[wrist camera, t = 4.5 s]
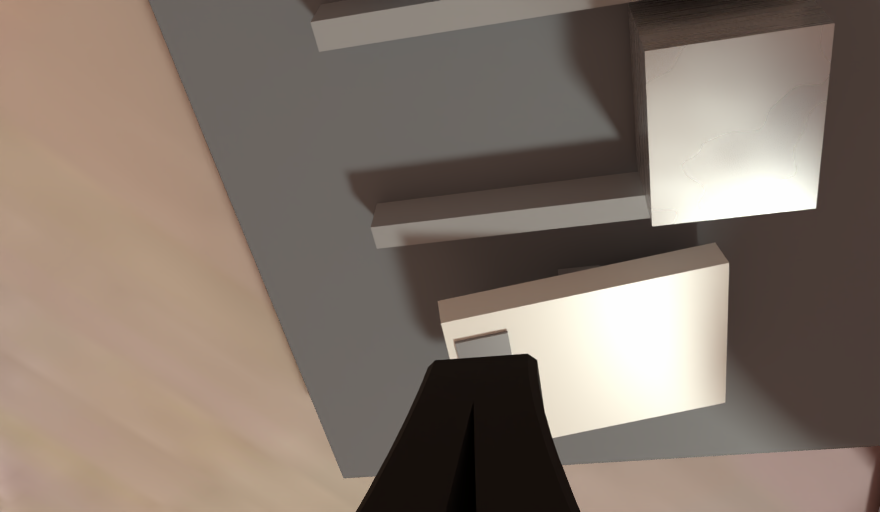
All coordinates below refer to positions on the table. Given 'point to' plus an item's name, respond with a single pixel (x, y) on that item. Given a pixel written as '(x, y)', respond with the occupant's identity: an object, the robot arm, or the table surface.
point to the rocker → (609, 336)
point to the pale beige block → (729, 105)
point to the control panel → (517, 206)
